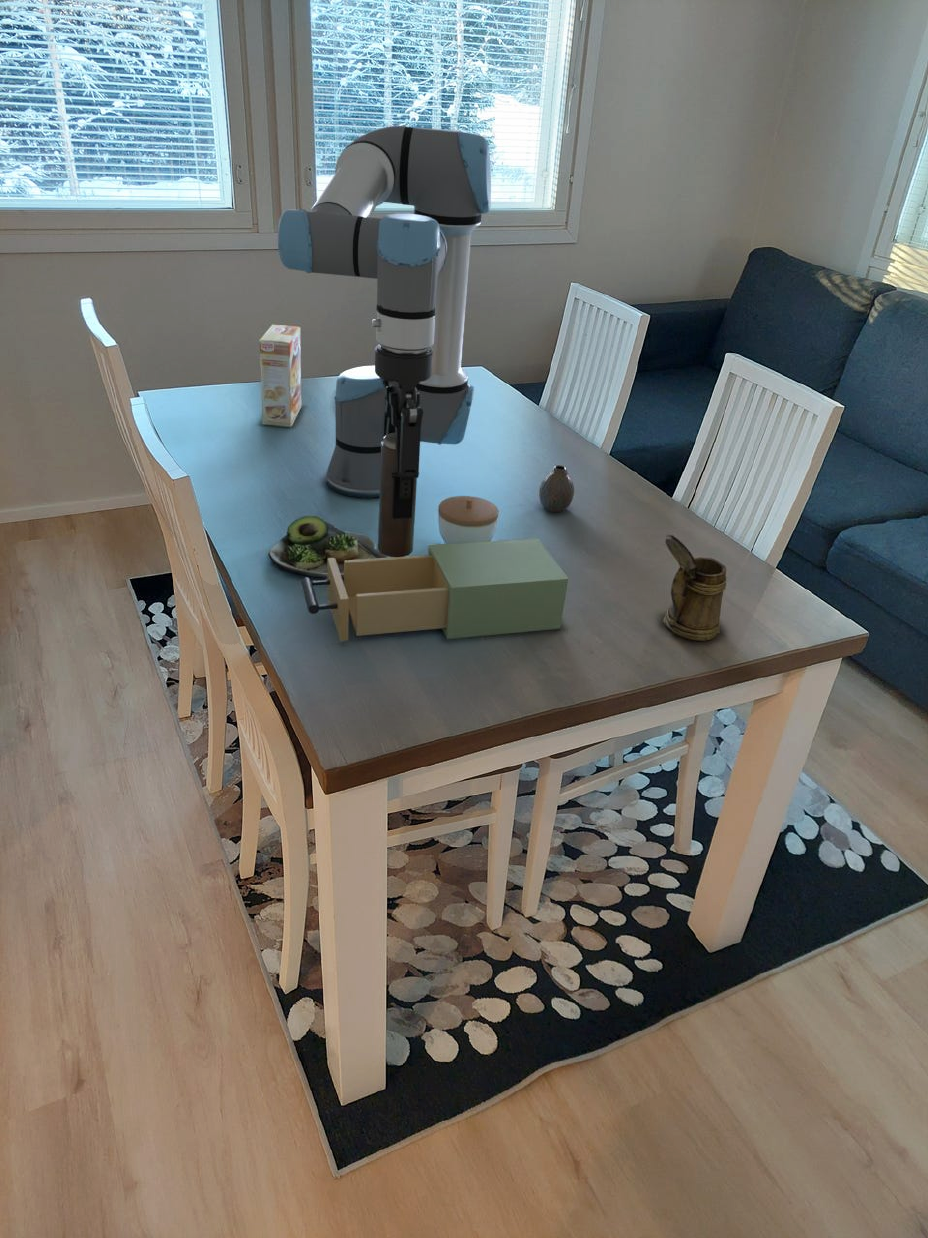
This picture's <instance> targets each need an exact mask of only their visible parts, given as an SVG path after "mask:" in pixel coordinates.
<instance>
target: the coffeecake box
mask: <svg viewBox="0 0 928 1238" xmlns="http://www.w3.org/2000/svg"><path fill="white" fill-rule="evenodd" d="M301 330H302V329H301V327H300V326H296V325H281V324H271V325H270V326H269V328H268V329H267V330H266V332H265V333H263V335H262V336H261V337H260V339H259V340H258V341H259V343H258V344H259V363H260V364H259V365H260V392H261V393H260V397H261V417H262V418H261V419H262V420H261V422H262V423H261V424H262V425H264V426H276V427H285V428H286V427H287V428H292V426H293V425H294V422H295V421H296V418H297V417H298V414H299V413H300V411H301V408H302V361H301V359H302V358H301V357H302V355H301V354H302V353H301V349H302V347H301Z"/></svg>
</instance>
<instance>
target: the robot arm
mask: <svg viewBox="0 0 928 1238" xmlns="http://www.w3.org/2000/svg"><path fill="white" fill-rule="evenodd" d="M490 157H491V153H490V146H489V142H488V141H487V139H486V138H485V137H484V136H483V135H481V134H479V133H478V134H477V133H473V132H468V131H462V130H453V129H452V130H451V129H440V128H427V127H413V126H407V125H390V126H385V127H380V128H377V129H374V130H371V131H368V132H366V133H365V134H363V135H361V136H359V137H357V138H356V139H354V140H353V141H351V142H350V143H349V144H348V145H346V146H345V147H344V149H343V150H342V151H341V153H340V154H339V156H338V157H337V160H336V163H335V170H334V175H333V177H332V178H331V180H330V181H329V182H328V184H327V185H326V187H325V189H324V190H323V191H322V193H321V194H320V195H319V197H318V198H317V200H316V201H315V203H314V205H313V206H312V207H311V208H310V210H306V209H305V208H301V209H286V210H284V211H283V213H282V214H281V216H280V218H279V222H278V228H277V248H278V255H279V259H280V262H281V263H282V266H284V267H285V268H287V269H289V270H293V271H301V272H306V274H322V275H323V274H324V275H332V276H344V277H345V276H346V277H355V278H356V277H357V278H363V279H364V278H365V279H375V280H376V281H377V282H376V308H375V309H376V318H374V319H372V320H371V326H372V327H373V328H375V341H376V342H377V345H376V347H375V348H374V365H363V366H357V367H354V368H350V369H347V370H345V371H343V372H342V373H340V375H339V376H338V377H337V379H336V384H335V395H334V403H335V445H334V449H333V452H332V455H331V457H330V460H329V464H328V467H327V469H326V484H327V486H328V487H329V488H330V489H331V490H333V491H334V492H336V493H338V494H340V495H341V494H342V495H345V496H349V497H354V498H367V499H368V498H369V499H370V498H380V466H381V442H382V441H383V439H384V436H385V435H387V434H390V433H395V448H396V472H395V473H391V478H393V502H392V518H393V519H398V518H412V502H413V483H414V478H417V479H418V478H419V477H420V476H419V475H420V456H421V455H420V453H421V443H422V442H423V443H428V444H437V445H438V446H439V445H440V446H441V445H458V444H461V443H462V442H463V440H464V438H465V435H466V431H467V426H468V421H469V418H470V413H471V407H472V403H473V399H474V395H475V390H476V389H475V386H474V385H471V384H468V381H469V374H468V373H467V372H466V371H465V370H464V369H463V368H462V359H463V346H464V333H465V319H466V306H467V293H468V281H469V280H468V278H469V266H470V256H471V255H470V254H471V253H470V252H471V240H472V233H473V232H474V231H475V230H476V229H477V228H478V227H479V226H480V225H481V223H482V215H486V214H488V213H490V211H491V207H492V174H491V173H492V172H491V171H492V170H491V158H490ZM384 203H391V204H397V205H404V206H413V213H404V212H403V213H400V212H399V213H398V212H397V213H395V212H394V213H391V214H389V213H388V214H385V215H384V216H382V217H372V215H373V213H374V212H375V209H376V208H377V207H378V206H380V205H382V204H384Z"/></svg>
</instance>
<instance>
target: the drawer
mask: <svg viewBox="0 0 928 1238" xmlns="http://www.w3.org/2000/svg"><path fill="white" fill-rule="evenodd" d="M300 585H301V587H302V592H303V597H304V599H305V604H306V607H307V611H308V613H309V614H311V615H316V614H318V613H319V612H320V611H326V610H330V612H331V615H332V618H333V622H334V624H335V628H336V632H337V635H338V639H339V641H340V642H348V641H349V621H350V620H351V621H350V622H351V624H352V627H353V630H354V633H355V635H356V637H357V636H358V637H360V636H373V635H383V634H393V633H394V634H395V633H404V632H414V631H415V632H416V631H426V630H438V629H442V628H447V617H448V605H449V593H450V589H449V587H448V585H447V583H446V582H445V580H444V578H443V576H442V574H441V572H440V570H439V568H438V566H437V564H436V563H435V561H434V559H433V557H432V555H428V554H423V555H407V556H404V557H387V558H375V559H360V560H345V561H344V578H342V577H341V574H340V571H339V568H338V565H337V562H336V559H335V558H328V559H327V578H326V579H321V580H320V579H318V580H312V579H311V578H309V577H304V578H303V579H302V580H301V582H300ZM317 586H327V591H326V592H327V597H326V598H327V601H328V603H323V604H319V602H318V598H317V596H316V595H317V594H316V591H315V588H314V587H317ZM349 617H350V619H349Z"/></svg>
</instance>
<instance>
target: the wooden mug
mask: <svg viewBox="0 0 928 1238" xmlns="http://www.w3.org/2000/svg"><path fill="white" fill-rule="evenodd" d="M664 541H665V545H666V547H667V549H668V550H669V552H670V555H672V557H673V558H674V559H675V561H676V562H677V564H678V566H679V568H678V569H677V571H676V573H675V574H674V576H673V579H672V583H671V587H670V596H671V597H670V598H671V601H672V602H671V604H670V606H669V607H668V608H667V610H666V612H665V615H664V618H663V623H664V625H665V626H666V627H667V629H668V630H669V631H671V632H672V633H673V634H674V635H676V636H678V637H680V638H682V639H684V640H689V641H693V642H705V641H710V640H713V639H714V638H716V637H717V636H718V635H719V634H720V632H721V611H722V602H723V596H724V591H725V589H726V588H727V580H728V579H727V576H726V575H727V568H726V565H724V564H723V563H722V562H720V561H719V560H717V559H715V558H711V557H695V558H694V556H693V554H692V552H691V551H690V549H688V548H687V546H686V545H685V544H684V543H683V542H682V541H681V540H680V539H679V538H678V537H676V536H674V535H672V534H667V535H666V536H665V540H664Z"/></svg>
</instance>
